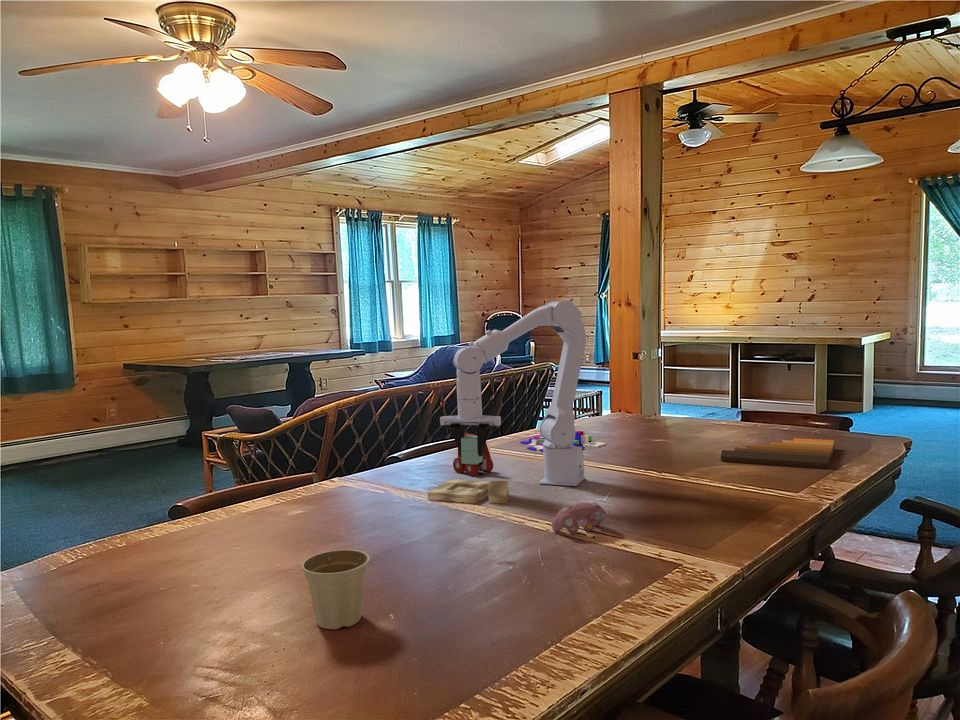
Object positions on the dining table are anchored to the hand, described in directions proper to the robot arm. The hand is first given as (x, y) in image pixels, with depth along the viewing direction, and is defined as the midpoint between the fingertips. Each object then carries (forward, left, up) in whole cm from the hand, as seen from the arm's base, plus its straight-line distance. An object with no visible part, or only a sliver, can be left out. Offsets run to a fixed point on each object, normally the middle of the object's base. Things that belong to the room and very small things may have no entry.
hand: (471, 455), depth 162 cm
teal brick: (0, 0, -2) cm, 2 cm away
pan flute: (-66, -54, -9) cm, 85 cm away
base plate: (+1, +4, -9) cm, 9 cm away
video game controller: (-32, +21, -9) cm, 40 cm away
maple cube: (-9, +6, -9) cm, 14 cm away
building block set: (-3, -55, -9) cm, 56 cm away
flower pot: (-11, +68, -9) cm, 69 cm away
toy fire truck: (+8, -17, -9) cm, 21 cm away
